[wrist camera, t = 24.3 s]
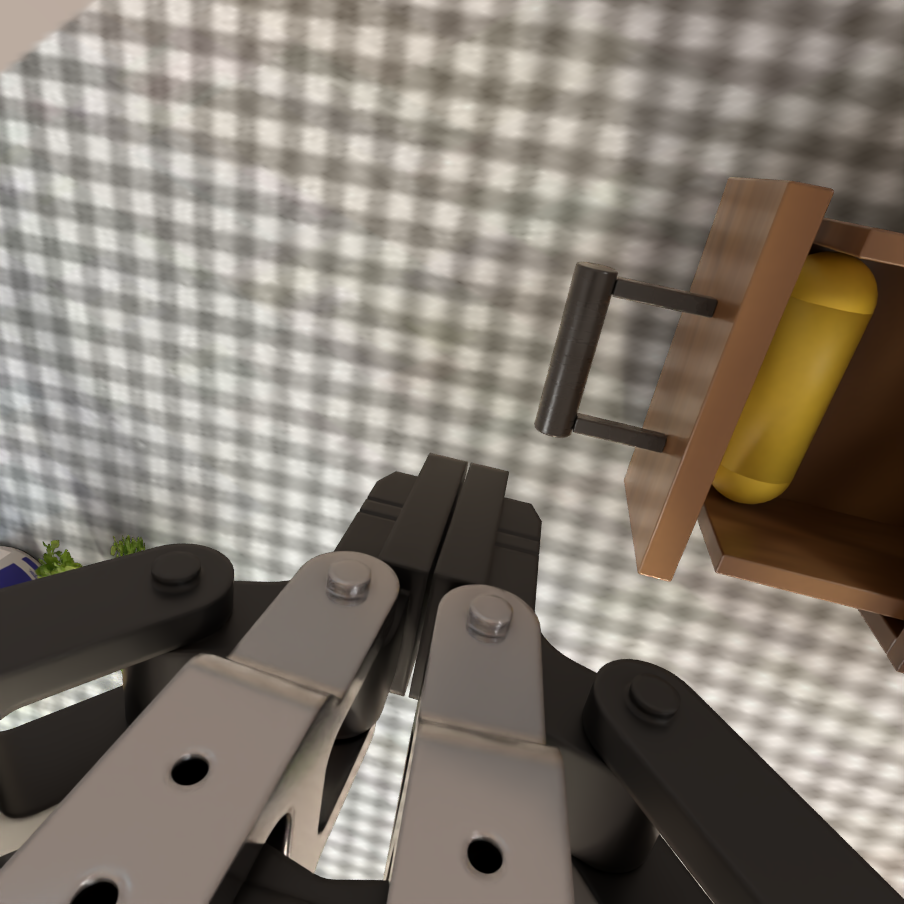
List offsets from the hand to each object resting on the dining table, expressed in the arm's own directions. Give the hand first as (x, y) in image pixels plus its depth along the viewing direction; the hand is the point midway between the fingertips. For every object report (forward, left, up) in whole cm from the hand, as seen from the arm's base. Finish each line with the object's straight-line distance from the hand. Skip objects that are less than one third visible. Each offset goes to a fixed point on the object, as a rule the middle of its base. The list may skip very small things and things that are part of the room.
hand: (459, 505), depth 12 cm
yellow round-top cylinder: (-9, +3, -15) cm, 18 cm away
